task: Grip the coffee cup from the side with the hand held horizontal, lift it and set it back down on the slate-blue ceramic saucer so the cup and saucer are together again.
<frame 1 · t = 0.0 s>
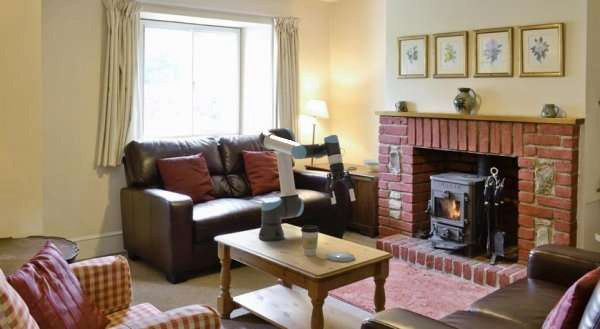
hand: (343, 202, 310), 28 cm above the table, tool tilted 20°, fingers open, 13 cm apart
saucer: (340, 258, 304), on the table
coffee cup: (309, 254, 311), on the table
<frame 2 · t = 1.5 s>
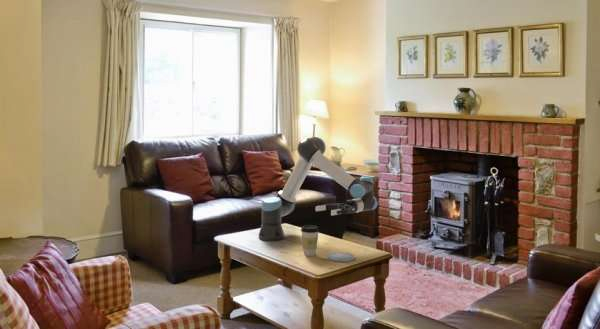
hand: (323, 210, 313), 23 cm above the table, tool horizontal, fingers open, 13 cm apart
nothing on the table moved.
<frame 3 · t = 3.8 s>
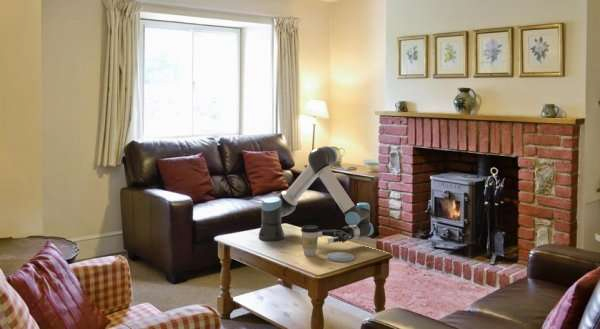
hand: (320, 238, 313), 8 cm above the table, tool horizontal, fingers open, 13 cm apart
nothing on the table moved.
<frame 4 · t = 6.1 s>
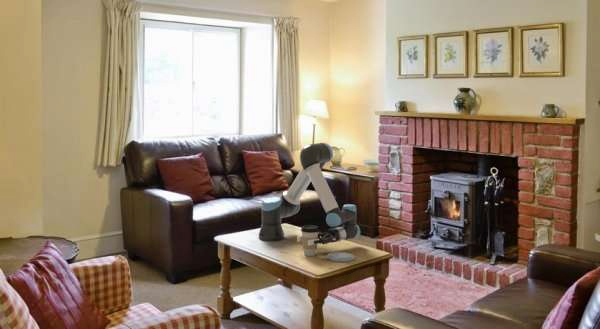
hand: (302, 241, 307), 8 cm above the table, tool horizontal, fingers closed on coffee cup, 9 cm apart
coffee cup: (309, 254, 311), on the table, touching gripper
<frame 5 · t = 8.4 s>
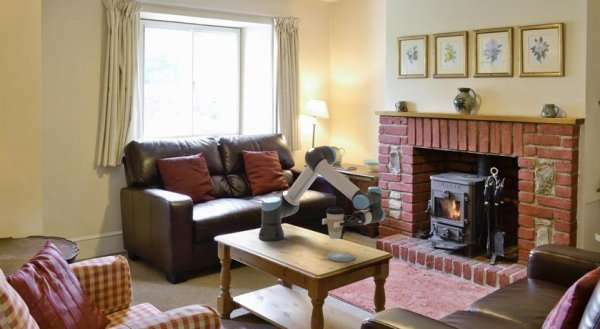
hand: (328, 223, 300), 19 cm above the table, tool horizontal, fingers closed on coffee cup, 9 cm apart
coffee cup: (335, 237, 304), point 11 cm above the table, touching gripper
when the fingers open (10 cm above the table, at t = 10.9 s): coffee cup drops 1 cm, resting on saucer.
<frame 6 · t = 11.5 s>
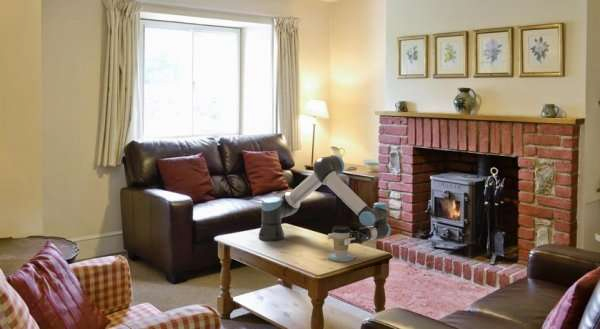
hand: (336, 239, 301), 10 cm above the table, tool horizontal, fingers open, 13 cm apart
coffee cup: (341, 255, 304), point 1 cm above the table, touching saucer
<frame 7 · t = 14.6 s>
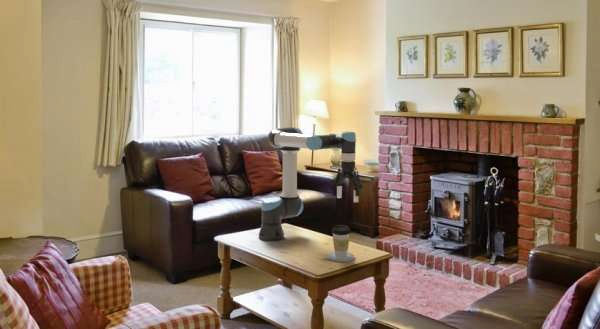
hand: (347, 200, 312), 29 cm above the table, tool pointing down, fingers open, 13 cm apart
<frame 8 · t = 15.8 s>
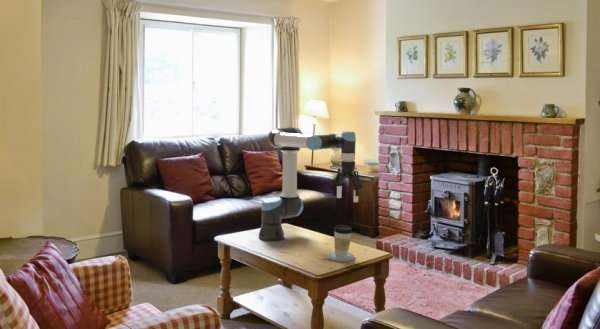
hand: (347, 200, 312), 29 cm above the table, tool pointing down, fingers open, 13 cm apart
at the end: coffee cup 0.1 cm from the saucer (horizontally); coffee cup tilted 5°; the gripper is holding nothing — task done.
